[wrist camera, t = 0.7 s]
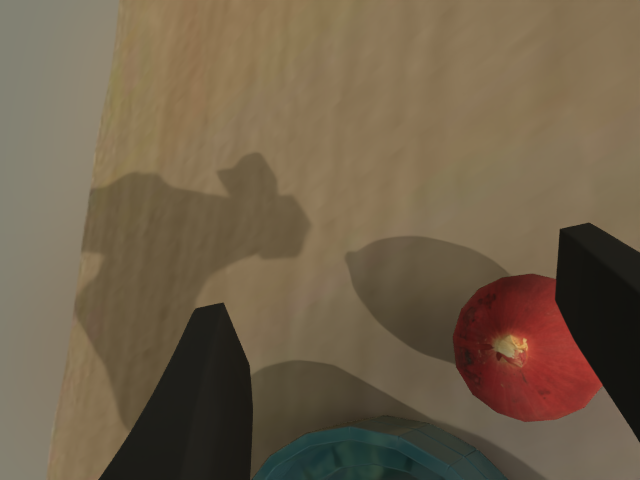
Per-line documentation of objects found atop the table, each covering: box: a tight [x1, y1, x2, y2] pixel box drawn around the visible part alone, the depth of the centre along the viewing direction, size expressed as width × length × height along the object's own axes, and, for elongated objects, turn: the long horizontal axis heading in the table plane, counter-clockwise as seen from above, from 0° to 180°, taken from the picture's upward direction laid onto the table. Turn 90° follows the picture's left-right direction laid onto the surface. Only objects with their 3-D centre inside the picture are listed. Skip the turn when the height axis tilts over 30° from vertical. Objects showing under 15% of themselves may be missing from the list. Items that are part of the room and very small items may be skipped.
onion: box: [453, 274, 602, 422], centre depth 23 cm, size 6×6×8 cm
